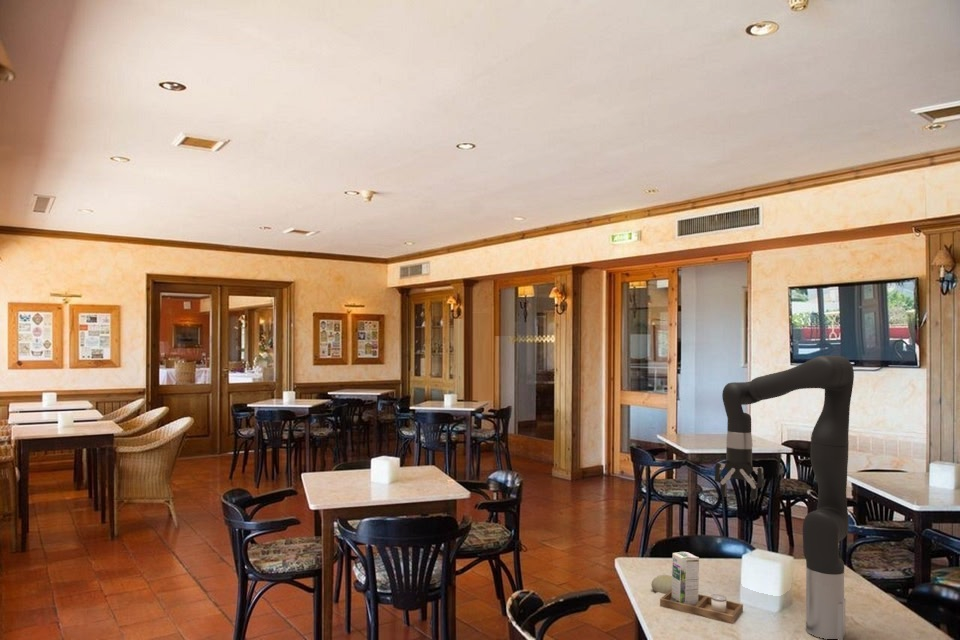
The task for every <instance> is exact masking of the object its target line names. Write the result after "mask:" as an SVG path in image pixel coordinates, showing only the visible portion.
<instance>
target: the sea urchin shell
mask: <svg viewBox="0 0 960 640" xmlns="http://www.w3.org/2000/svg"><path fill="white" fill-rule="evenodd" d="M651 589H652V590H653V591H654V592H655V593H660V594H664V595H665V594H667V593H668V592H669V591H670V590H671V589H672V575H668V574H662V575H657V576H656V577H654V578H653V579H652V581H651Z"/></svg>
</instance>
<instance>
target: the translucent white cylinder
mask: <svg viewBox="0 0 960 640" xmlns="http://www.w3.org/2000/svg"><path fill="white" fill-rule="evenodd" d="M710 597H711V598H712V599H711V610H712V611H717V612H721V613H725V614H726V600H727V599H728V598H727V596H725V595H724V594H716V593H715V594H711V596H710ZM727 601H728V600H727Z"/></svg>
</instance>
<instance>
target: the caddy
mask: <svg viewBox="0 0 960 640" xmlns="http://www.w3.org/2000/svg"><path fill="white" fill-rule="evenodd" d="M711 599H712V598H711V596H708V595H705V594H700V593H698V603H697V604H696V605H695V606H691V605H687V604H683V603H679V602H675V601H672V589H671V590H670V591H669V592H668V593H667V594H665V593H664V595H663V596H661V598H660V599H659V607H662V608H666V609H671V610H674V611H678V612H681V613H686V614H691V615H694V616H699V617H703V618H705V619H706V618H707V619H711V620H715V621H719V622H723V623H727V624H731V625H734V624H735V622H736V621H737V620H738V619H739V617H740V616H741V614H742V613H743V611H744V604H742V603H739V602H735V601H731V600H726V614H725V613H721V612H717V611H712V610H711Z"/></svg>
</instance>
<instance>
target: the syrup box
mask: <svg viewBox="0 0 960 640" xmlns="http://www.w3.org/2000/svg"><path fill="white" fill-rule="evenodd" d="M671 558H672V561H671V568H672V569H671V570H672V571H671V574H672V575H671V576H672V601H675V602H679V603H683V604H687V605H691V606H695V605H696V604H697V603H698V594H699V585H700V584H699V581H700V577H699V575H700V574H699V573H700V557H699V556H696V555H694V554H692V553H690V552H687V551H679V552H672V557H671Z"/></svg>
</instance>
